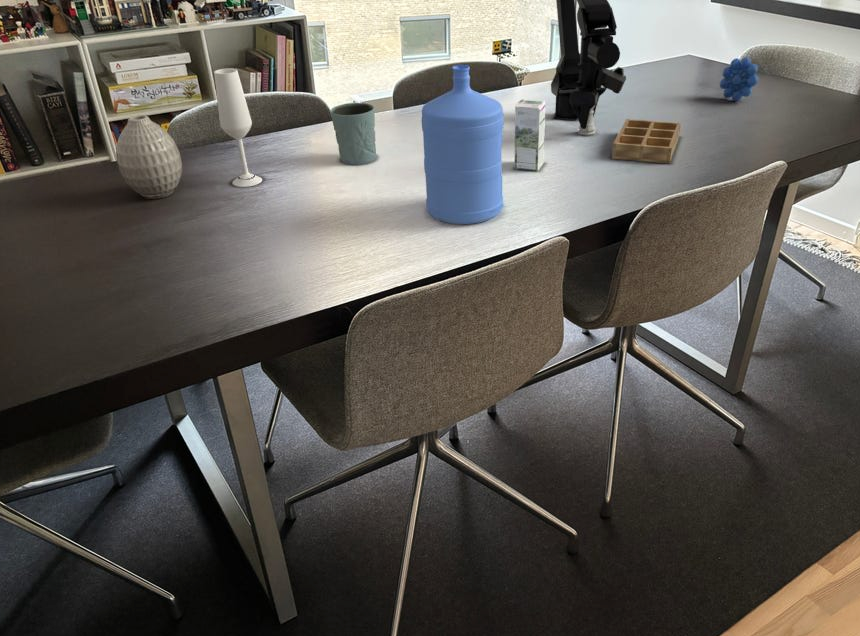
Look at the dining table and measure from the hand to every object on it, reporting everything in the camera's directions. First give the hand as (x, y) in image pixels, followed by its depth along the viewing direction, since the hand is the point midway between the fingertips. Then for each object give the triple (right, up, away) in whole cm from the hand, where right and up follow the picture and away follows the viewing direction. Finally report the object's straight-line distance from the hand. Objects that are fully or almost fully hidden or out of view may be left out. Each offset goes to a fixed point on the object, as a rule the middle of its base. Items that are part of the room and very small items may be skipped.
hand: (587, 123), depth 191 cm
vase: (-99, -24, -25) cm, 105 cm away
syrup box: (-16, -16, -17) cm, 28 cm away
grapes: (+46, +13, +23) cm, 53 cm away
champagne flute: (-81, -20, -20) cm, 85 cm away
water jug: (-31, -30, -37) cm, 57 cm away
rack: (+13, -9, -9) cm, 18 cm away
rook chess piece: (0, -2, +1) cm, 3 cm away
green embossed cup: (-57, -12, -10) cm, 59 cm away
